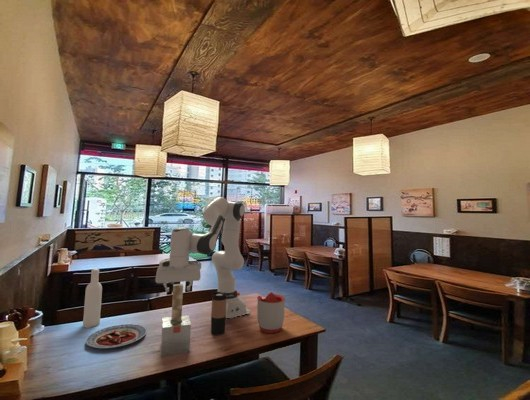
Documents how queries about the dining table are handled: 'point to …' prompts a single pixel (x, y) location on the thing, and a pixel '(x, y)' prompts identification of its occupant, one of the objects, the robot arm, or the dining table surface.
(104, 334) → the ceramic plate
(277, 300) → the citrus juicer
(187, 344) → the sleeve block
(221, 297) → the travel mug
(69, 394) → the dining table surface
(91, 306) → the bottle
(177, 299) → the birch post
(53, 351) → the dining table surface
